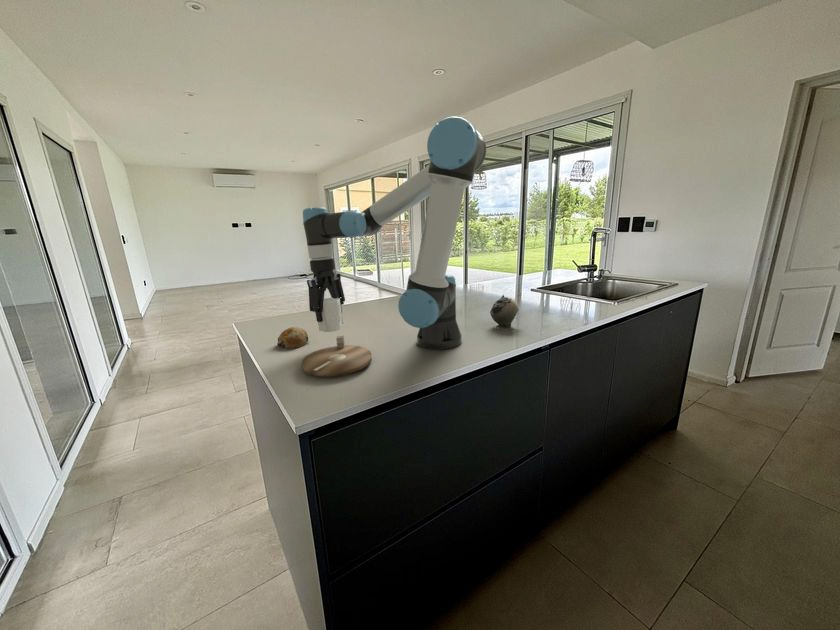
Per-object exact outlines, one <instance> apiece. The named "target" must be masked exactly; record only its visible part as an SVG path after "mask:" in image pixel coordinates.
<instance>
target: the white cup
mask: <svg viewBox="0 0 840 630" xmlns="http://www.w3.org/2000/svg"><path fill="white" fill-rule="evenodd" d="M340 298H341V297H340ZM340 298H336V299H334V298H332V297H324V301H323V309H322V311H325V318H326V325H327V331H322V332H324V333H331V332H332V333H333V332H336V331H340V330H341V329H342V328H343V326H342V325H343V324H342V323H341V322H342V321H341V320H342V318H343V317H342V318H341V306H342V305H340ZM318 308H319V307H318Z"/></svg>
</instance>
